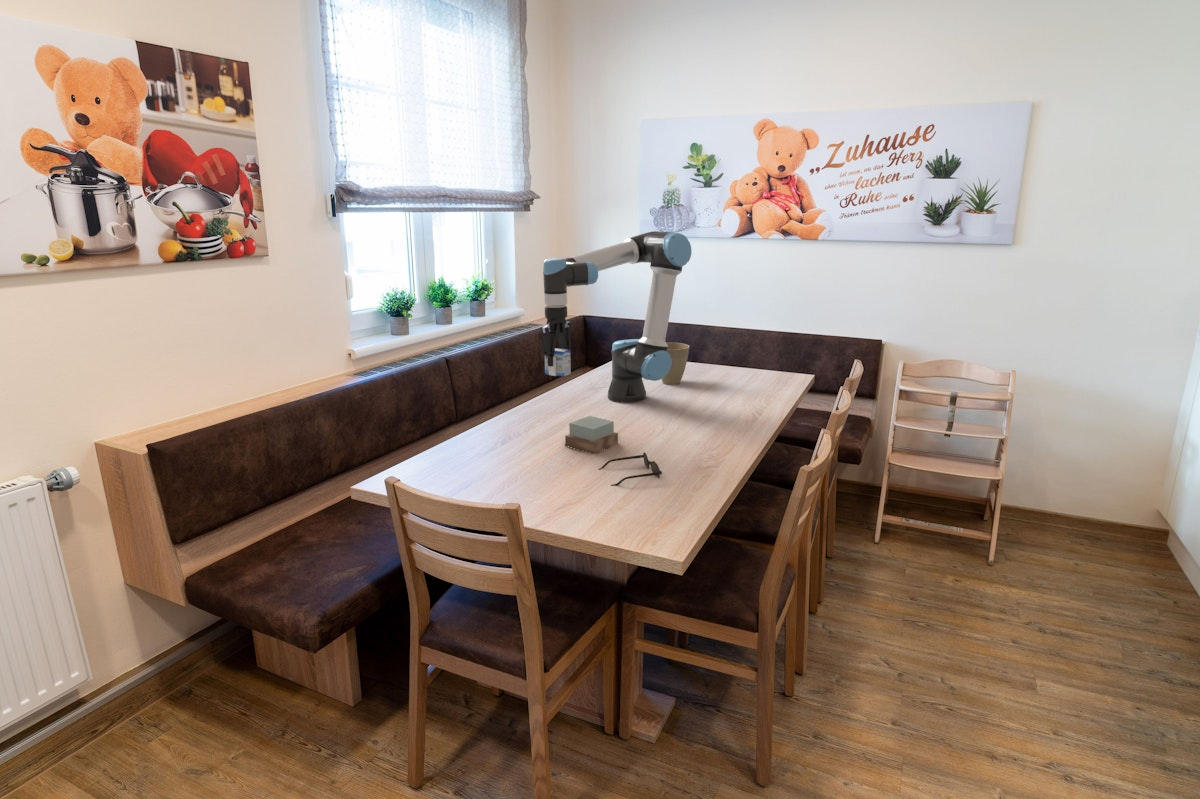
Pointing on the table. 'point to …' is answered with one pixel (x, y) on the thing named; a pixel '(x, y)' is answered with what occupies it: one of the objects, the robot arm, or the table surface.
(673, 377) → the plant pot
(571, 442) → the walnut slab
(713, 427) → the table surface
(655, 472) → the eyeglasses
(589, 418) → the sage slab
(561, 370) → the medicine box
